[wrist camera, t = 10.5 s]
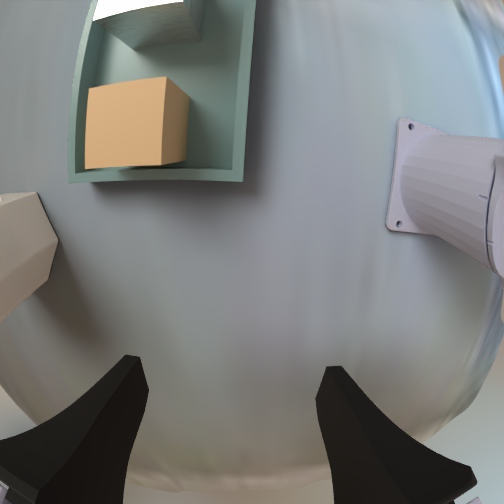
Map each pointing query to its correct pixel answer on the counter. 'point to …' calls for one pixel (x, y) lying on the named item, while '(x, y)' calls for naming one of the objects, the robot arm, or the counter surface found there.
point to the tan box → (136, 124)
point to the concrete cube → (152, 21)
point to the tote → (186, 78)
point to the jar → (23, 248)
